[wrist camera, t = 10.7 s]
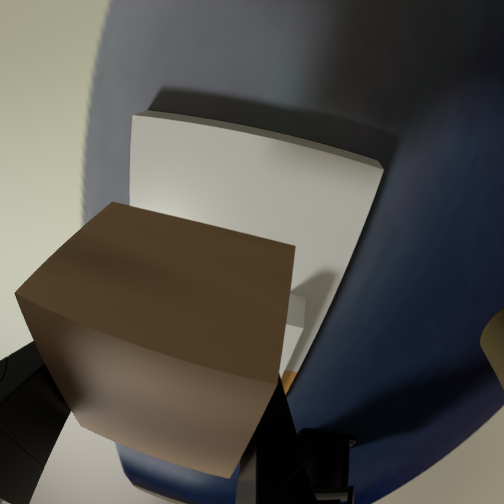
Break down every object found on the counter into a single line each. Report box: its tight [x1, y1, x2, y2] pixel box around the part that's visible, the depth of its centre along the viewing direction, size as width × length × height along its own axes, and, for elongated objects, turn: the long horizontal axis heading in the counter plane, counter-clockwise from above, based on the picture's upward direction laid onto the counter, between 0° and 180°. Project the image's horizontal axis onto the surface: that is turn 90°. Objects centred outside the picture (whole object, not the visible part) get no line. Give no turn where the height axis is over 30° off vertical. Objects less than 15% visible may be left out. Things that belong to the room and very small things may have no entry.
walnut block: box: [15, 202, 296, 478], centre depth 8 cm, size 6×5×4 cm
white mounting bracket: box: [130, 110, 384, 395], centre depth 19 cm, size 22×12×4 cm, turn 169°
